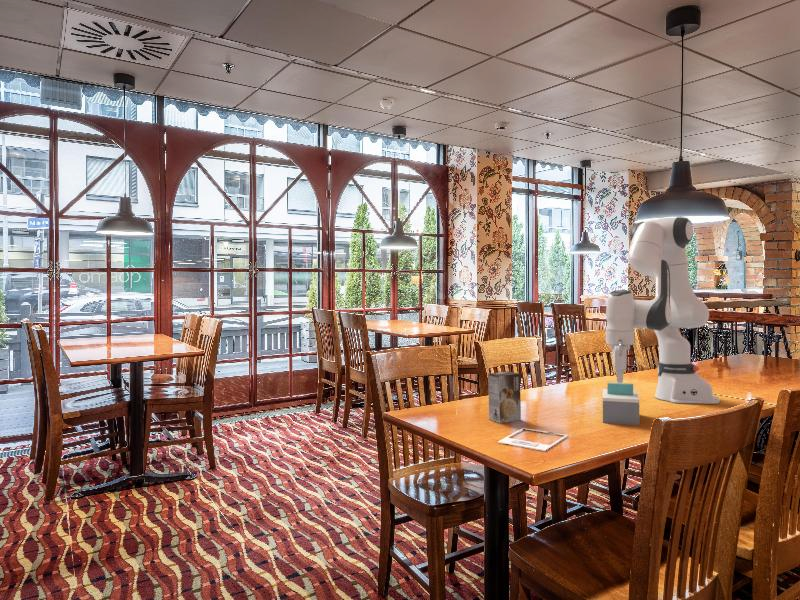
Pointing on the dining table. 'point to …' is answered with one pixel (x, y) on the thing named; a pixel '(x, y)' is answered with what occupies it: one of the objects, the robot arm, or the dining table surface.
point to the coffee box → (504, 396)
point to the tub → (621, 412)
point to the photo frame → (530, 444)
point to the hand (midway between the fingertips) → (619, 380)
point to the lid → (620, 393)
